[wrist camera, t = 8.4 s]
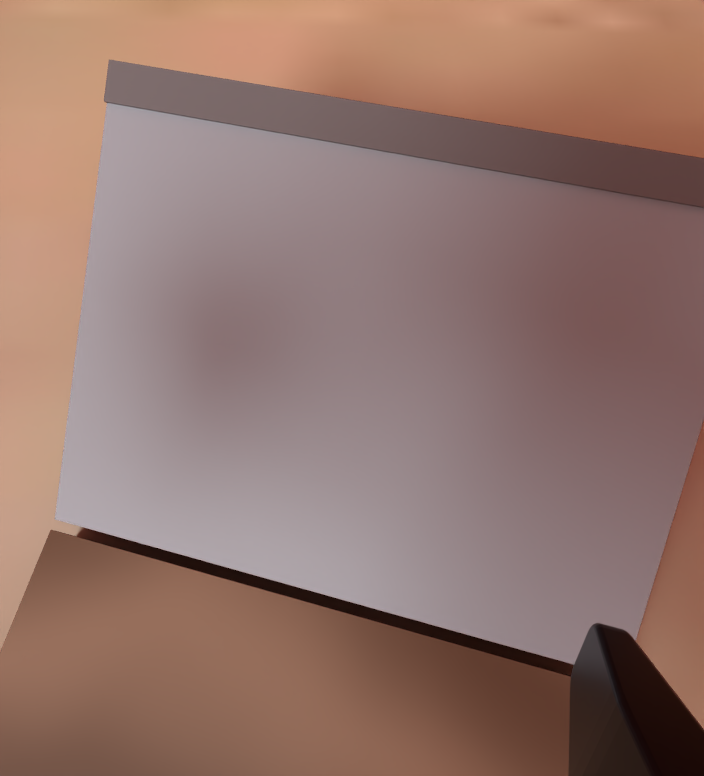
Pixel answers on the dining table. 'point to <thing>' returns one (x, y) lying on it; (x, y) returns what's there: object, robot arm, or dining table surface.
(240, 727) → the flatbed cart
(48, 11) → the dining table surface
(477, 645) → the dining table surface
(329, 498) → the tailgate
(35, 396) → the dining table surface
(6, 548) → the dining table surface
